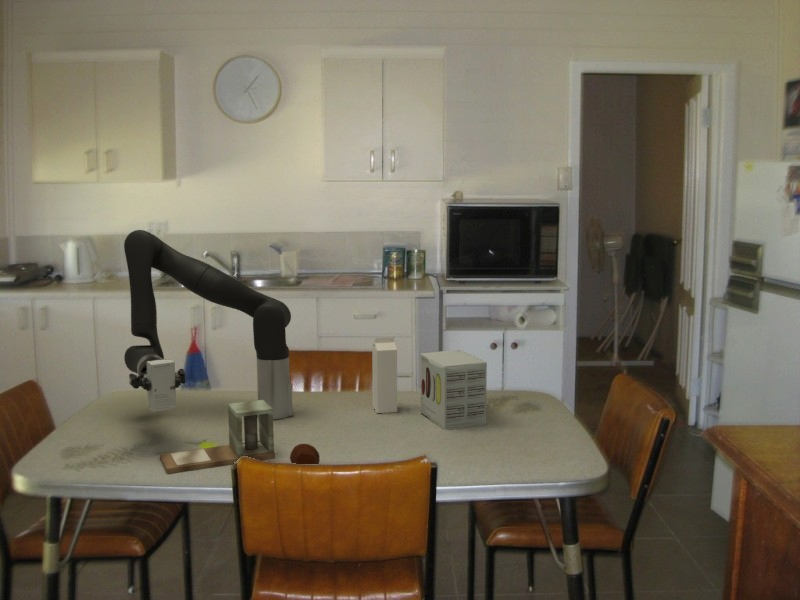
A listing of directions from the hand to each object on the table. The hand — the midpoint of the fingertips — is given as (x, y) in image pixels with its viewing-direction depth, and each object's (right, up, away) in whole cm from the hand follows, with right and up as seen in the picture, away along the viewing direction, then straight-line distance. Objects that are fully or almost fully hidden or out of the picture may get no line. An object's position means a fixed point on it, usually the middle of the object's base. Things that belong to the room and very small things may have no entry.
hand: (163, 385), depth 204 cm
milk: (+54, -12, +40) cm, 68 cm away
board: (+14, -18, -1) cm, 23 cm away
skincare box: (-1, -6, +3) cm, 7 cm away
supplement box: (+74, -13, +31) cm, 81 cm away
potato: (+36, -19, -9) cm, 42 cm away
